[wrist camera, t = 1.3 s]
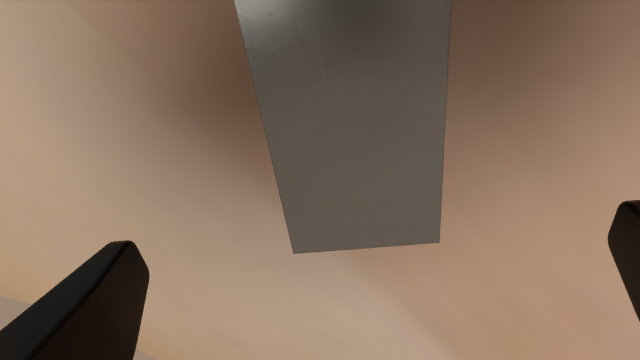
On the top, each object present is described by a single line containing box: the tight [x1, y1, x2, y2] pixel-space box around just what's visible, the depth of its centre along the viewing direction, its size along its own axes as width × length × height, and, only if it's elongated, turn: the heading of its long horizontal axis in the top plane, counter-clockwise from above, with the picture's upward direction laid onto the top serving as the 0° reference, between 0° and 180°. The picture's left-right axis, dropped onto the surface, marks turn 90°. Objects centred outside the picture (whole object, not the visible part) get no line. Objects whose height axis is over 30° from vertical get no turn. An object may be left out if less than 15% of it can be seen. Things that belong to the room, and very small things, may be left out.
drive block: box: [234, 0, 451, 254], centre depth 14 cm, size 4×8×7 cm, turn 7°
